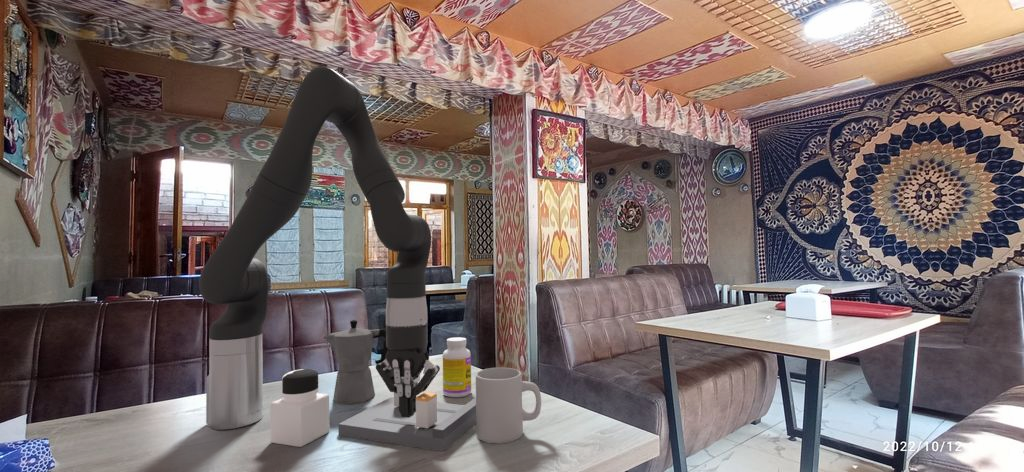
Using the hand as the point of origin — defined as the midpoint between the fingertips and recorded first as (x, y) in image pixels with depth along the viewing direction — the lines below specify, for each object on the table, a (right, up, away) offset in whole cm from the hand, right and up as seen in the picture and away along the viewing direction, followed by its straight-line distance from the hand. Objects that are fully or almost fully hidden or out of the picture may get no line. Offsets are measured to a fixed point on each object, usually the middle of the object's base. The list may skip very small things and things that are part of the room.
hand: (408, 415), depth 82 cm
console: (0, -4, +4) cm, 5 cm away
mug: (+19, -3, -1) cm, 19 cm away
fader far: (-3, -1, +10) cm, 10 cm away
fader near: (+4, -1, -1) cm, 4 cm away
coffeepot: (-17, -5, +22) cm, 28 cm away
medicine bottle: (-20, -4, 0) cm, 20 cm away
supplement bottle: (+6, -4, +23) cm, 24 cm away
